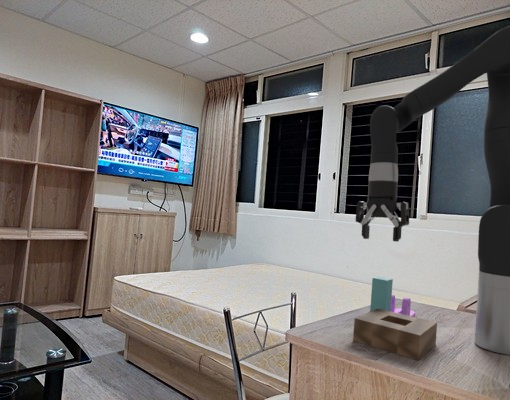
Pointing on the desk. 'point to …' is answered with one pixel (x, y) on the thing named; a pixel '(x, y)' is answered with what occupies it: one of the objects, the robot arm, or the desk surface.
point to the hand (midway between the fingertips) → (380, 240)
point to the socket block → (395, 333)
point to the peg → (381, 293)
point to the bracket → (405, 307)
